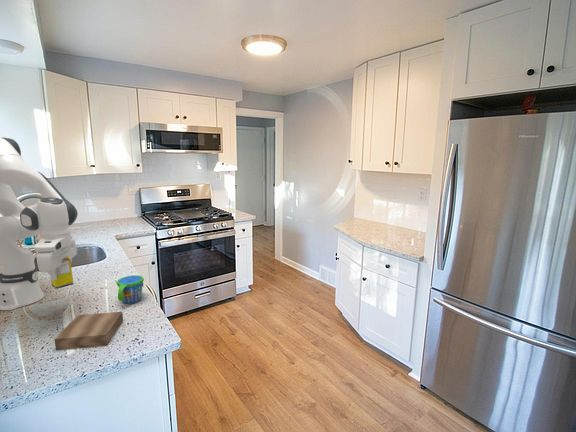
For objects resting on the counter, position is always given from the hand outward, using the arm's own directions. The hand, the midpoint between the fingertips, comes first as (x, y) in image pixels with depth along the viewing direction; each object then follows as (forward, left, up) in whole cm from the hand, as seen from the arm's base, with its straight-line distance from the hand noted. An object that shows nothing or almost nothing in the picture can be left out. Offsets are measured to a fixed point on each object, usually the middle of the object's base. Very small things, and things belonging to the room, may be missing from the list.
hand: (61, 274), depth 119 cm
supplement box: (0, 0, -5) cm, 5 cm away
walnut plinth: (+14, -13, -19) cm, 27 cm away
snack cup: (+20, +13, -19) cm, 31 cm away
